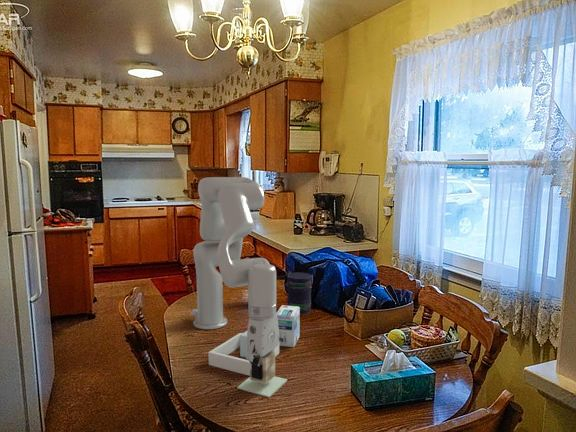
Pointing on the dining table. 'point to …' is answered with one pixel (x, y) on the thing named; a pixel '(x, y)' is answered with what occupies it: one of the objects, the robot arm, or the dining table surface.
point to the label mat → (262, 386)
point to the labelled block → (266, 367)
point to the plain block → (243, 344)
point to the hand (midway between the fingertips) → (262, 373)
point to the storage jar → (299, 291)
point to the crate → (231, 357)
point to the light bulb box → (288, 325)
